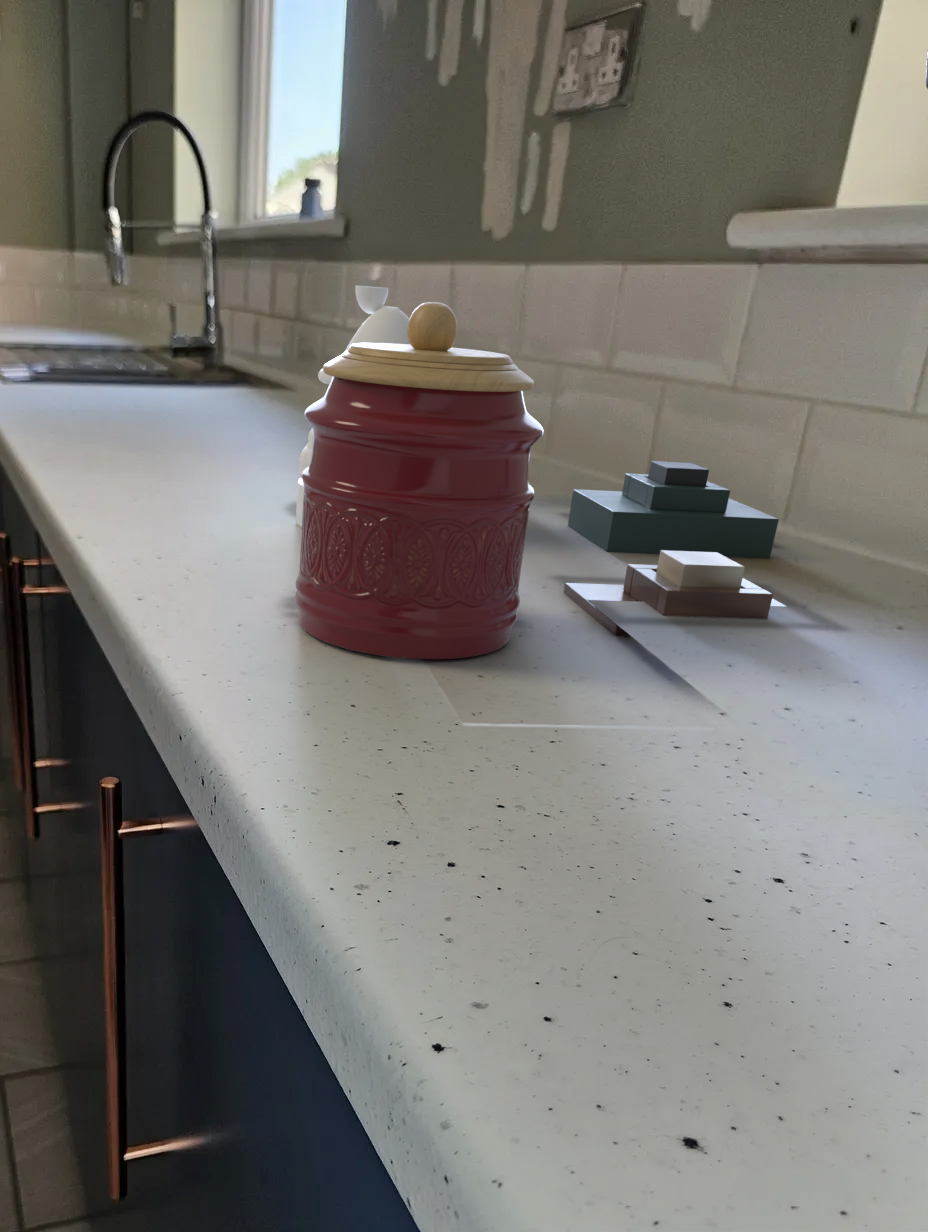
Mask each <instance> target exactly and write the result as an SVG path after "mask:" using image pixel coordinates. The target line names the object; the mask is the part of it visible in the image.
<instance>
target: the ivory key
mask: <svg viewBox="0 0 928 1232" xmlns="http://www.w3.org/2000/svg"><path fill="white" fill-rule="evenodd" d="M658 555H659V556H658V561H657V565H658V566H657V571H656V573H658V574H659V575H661V576H662V577H664V578H666V579H667V580H669V581H670V582H672V583H673V584H675V585H677V586H683V587H712V588H740V587H741V583H742V578H744V575H745V571H746V570H745V569H746V567H745V566H744V565H742V564H741V563H738V562H737V561H734V560H732V559H731V558H729V557H725V556H723V555H721V554H719V553H717V552H694V551H669V550H661V551H660V554H658Z"/></svg>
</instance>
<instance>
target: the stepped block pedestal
mask: <svg viewBox="0 0 928 1232" xmlns="http://www.w3.org/2000/svg"><path fill="white" fill-rule="evenodd" d="M657 566H658V564H642V563H641V564H637V563H633V564H632V563H628V564H627V567H626V570H625V571H626V572H625V578H624V583H623V584H612V583H611V584H607V583H581V582H580V583H579V582H565V583H564V586H563V594H565V595H566V596H567V597H568V598H569V599H571V600H572V601H573V602H574V603H575V604H577V605H578V607H580V608H581V609H582V610H583V611H585V612H586V613H587V614H588V615H590V616H591V617H592V618H593V619H595V620H596V621H597V622H598V623H599V624H600V625H602V626H603V627H604V628H605V629H606V630H608V631H609V632H610V634H612V635H614V636H619V637H620V636H621V637H622V636H623V637H631V636H632V635H631V634H629V633H628V632H627V631H626V630H624V628H622V627H621V626H620V625H618V624H617V623H616V622H615V621H613V620H612V619H611V618H610V617H608V616H607V615H606V614H605V613H604V612H602V611H601V610H600V609H598V608H597V607H596V606H595V605H593V603H591V602H590V601H609V602H610V601H612V602H613V601H614V602H638V603H639V602H640V603H641V602H642V603H645V604H646V605H648V606H649V607H650V608H652V609H654V611H656V612H658V613H659V614H661V615H662V616H665V617H666V616H667V617H669V616H670V617H697V618H698V617H699V618H701V617H703V618H729V619H730V618H731V619H759V620H761V619H762V620H763V619H764V620H767V619H768V618H769V613H770V609H771V607H786V604H784V603H782V602H780V601H778V600H776V599H774V598H773V596H774V594H773V593H771V592H770V591H768V590H766V589H764V588H762V587H760V586H759V585H757V584H755V583H753V582H751V581H749V580H748V579H746V578H744V577H743V578H742V583H741V587H740V588H712V587H683V586H677V585H675V584H673V583H672V582H670V581H669V580H667V579H666V578H664V577H662V576H661V575H659V574H658V573H656V571H657Z"/></svg>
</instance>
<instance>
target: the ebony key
mask: <svg viewBox="0 0 928 1232" xmlns="http://www.w3.org/2000/svg"><path fill="white" fill-rule="evenodd" d="M709 473H710V469H708V468H706V467H703V466H700V465H698V464H695V463H692V462H680V461H661V460H660V461H659V460H651V461H650V465H649V469H648V474H649V475H648V479H650V480H653V481H655V482H657V483H659V484H661V485H678V486H698V487H706V484H707V481H708V478H709Z"/></svg>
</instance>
